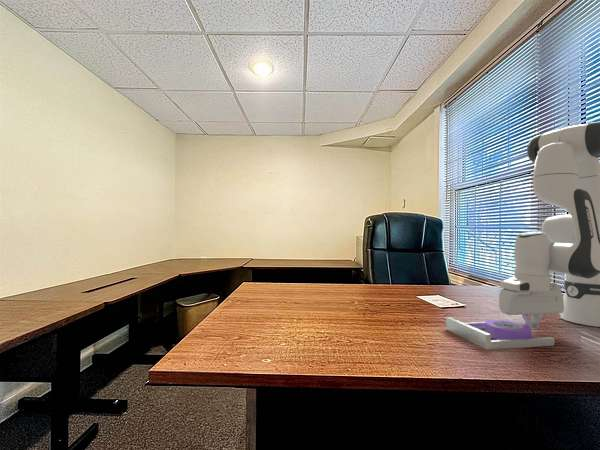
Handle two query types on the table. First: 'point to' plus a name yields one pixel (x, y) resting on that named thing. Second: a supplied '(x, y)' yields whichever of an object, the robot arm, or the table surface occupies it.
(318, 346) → the table surface
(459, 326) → the guide channel
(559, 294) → the robot arm
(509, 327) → the masking tape
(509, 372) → the table surface
